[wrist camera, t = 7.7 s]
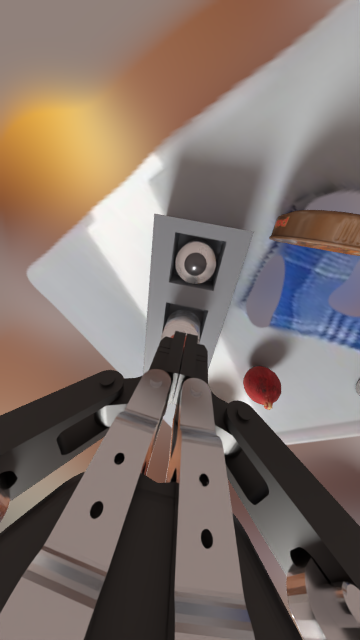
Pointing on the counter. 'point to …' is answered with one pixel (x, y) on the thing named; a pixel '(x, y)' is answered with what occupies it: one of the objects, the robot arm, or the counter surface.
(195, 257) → the knob
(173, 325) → the knob mid
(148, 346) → the mount
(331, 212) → the tin
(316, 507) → the robot arm
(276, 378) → the onion
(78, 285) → the counter surface
